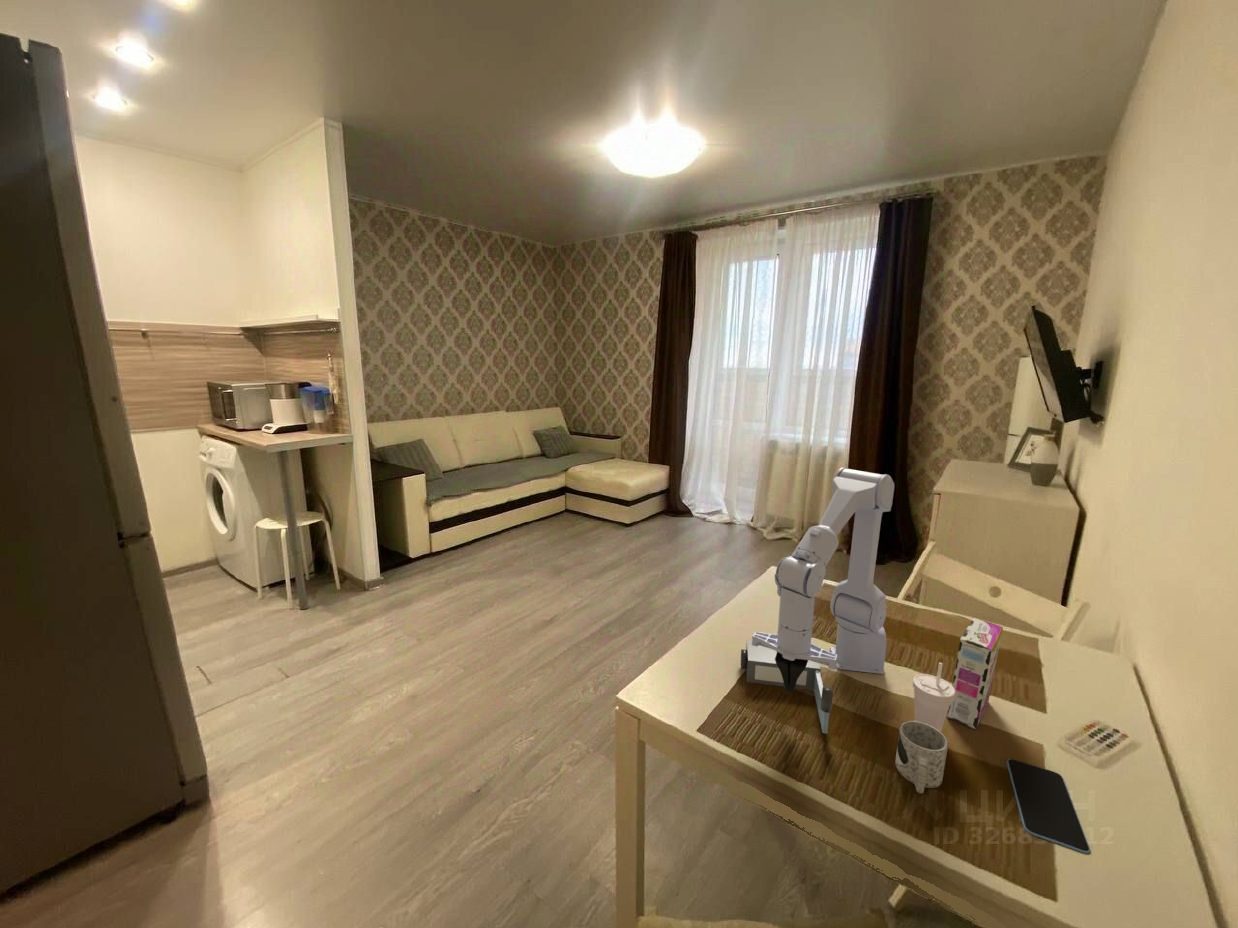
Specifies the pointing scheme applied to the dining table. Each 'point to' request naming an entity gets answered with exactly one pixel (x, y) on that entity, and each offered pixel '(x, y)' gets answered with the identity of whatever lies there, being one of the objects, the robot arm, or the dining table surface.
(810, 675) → the camera housing
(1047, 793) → the smartphone
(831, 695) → the side door
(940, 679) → the smoothie
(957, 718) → the candy bar box
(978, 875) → the dining table surface
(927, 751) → the mug
